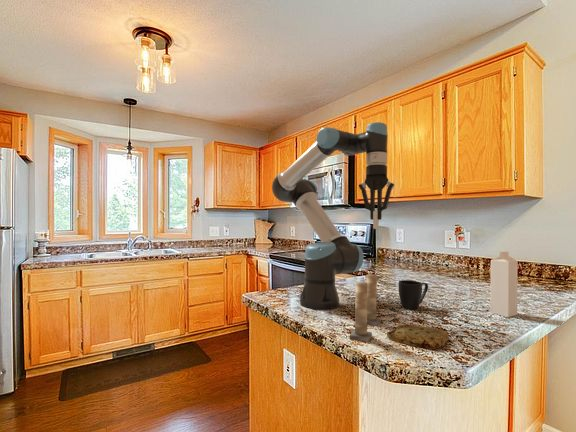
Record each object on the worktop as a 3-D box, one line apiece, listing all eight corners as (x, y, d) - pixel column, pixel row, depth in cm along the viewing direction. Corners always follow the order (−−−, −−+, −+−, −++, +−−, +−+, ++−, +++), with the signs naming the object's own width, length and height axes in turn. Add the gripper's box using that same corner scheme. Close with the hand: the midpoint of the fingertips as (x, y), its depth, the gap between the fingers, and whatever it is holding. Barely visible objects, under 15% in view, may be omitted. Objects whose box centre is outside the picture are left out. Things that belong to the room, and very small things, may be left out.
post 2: (361, 323, 97) (361, 275, 97) (364, 319, 102) (365, 273, 102) (377, 326, 95) (378, 277, 95) (380, 321, 100) (380, 274, 100)
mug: (435, 309, 114) (435, 283, 114) (407, 311, 111) (408, 285, 111) (419, 303, 122) (420, 279, 122) (393, 305, 119) (394, 280, 119)
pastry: (467, 351, 78) (467, 339, 78) (401, 353, 77) (401, 341, 77) (430, 327, 96) (430, 318, 96) (375, 328, 94) (375, 318, 94)
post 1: (349, 338, 85) (350, 283, 85) (354, 332, 89) (354, 280, 89) (368, 342, 82) (368, 285, 83) (371, 335, 87) (372, 282, 87)
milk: (517, 315, 109) (518, 252, 109) (508, 317, 106) (509, 252, 106) (498, 310, 114) (499, 250, 114) (489, 312, 111) (490, 251, 111)
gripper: (356, 164, 115) (355, 228, 115) (393, 162, 109) (392, 229, 109) (361, 168, 122) (360, 228, 121) (396, 165, 116) (395, 228, 116)
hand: (375, 228), depth 115 cm, fingers closed
